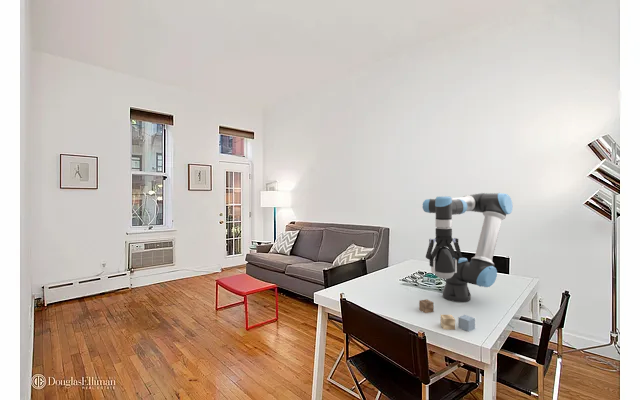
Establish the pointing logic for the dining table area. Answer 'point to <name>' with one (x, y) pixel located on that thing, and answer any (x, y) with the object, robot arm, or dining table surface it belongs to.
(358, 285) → the dining table surface
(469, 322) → the slate cube
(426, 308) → the walnut cube
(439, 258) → the black rounded cone
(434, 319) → the dining table surface
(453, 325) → the maple cube
